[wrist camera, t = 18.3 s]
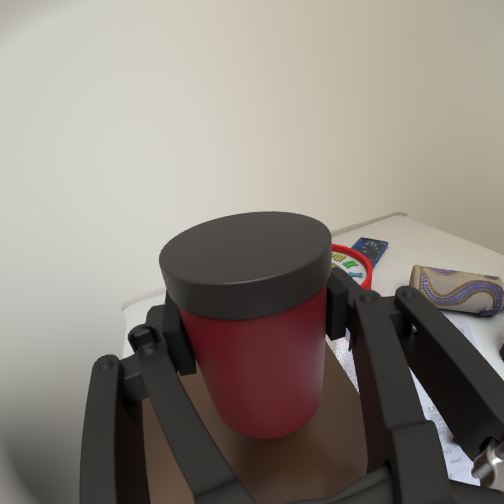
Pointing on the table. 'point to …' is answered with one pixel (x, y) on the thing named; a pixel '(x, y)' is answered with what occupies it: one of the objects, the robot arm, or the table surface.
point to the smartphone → (370, 249)
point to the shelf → (271, 447)
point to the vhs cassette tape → (502, 351)
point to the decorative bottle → (459, 290)
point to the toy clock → (353, 264)
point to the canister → (255, 314)
